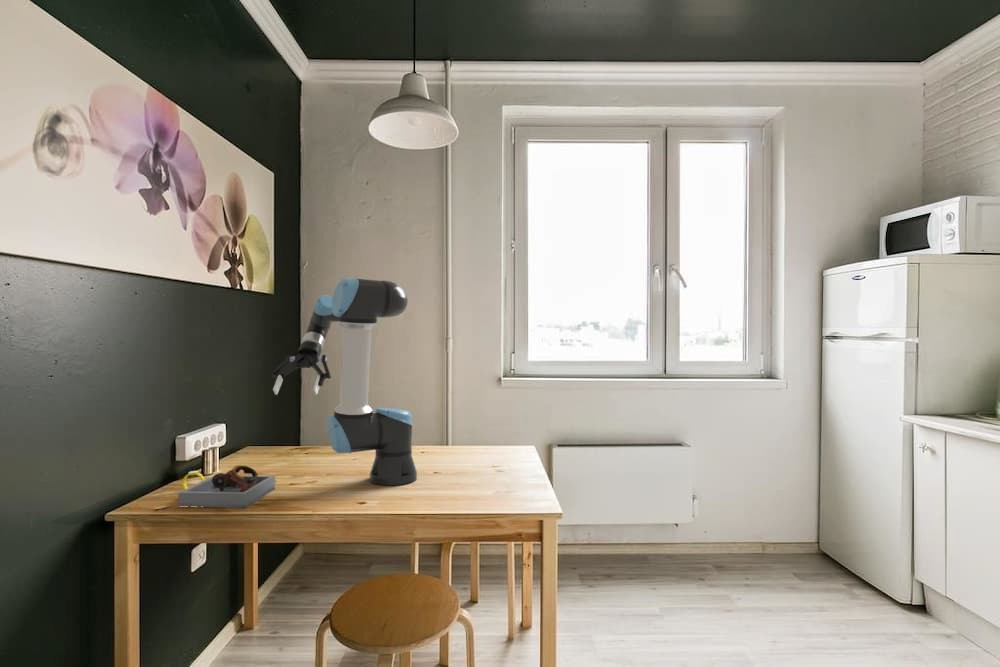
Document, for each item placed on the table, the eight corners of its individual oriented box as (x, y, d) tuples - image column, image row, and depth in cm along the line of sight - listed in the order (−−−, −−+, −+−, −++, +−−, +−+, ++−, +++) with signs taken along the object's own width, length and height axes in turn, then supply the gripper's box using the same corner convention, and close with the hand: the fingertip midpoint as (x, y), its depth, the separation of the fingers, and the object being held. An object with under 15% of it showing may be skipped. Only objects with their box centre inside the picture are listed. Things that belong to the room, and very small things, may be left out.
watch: (181, 493, 160) (180, 473, 160) (186, 491, 163) (185, 471, 163) (202, 492, 161) (200, 472, 161) (206, 489, 163) (205, 469, 163)
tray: (274, 489, 165) (274, 475, 165) (245, 508, 146) (245, 493, 146) (215, 488, 165) (215, 475, 165) (178, 507, 146) (178, 492, 146)
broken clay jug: (242, 485, 166) (255, 463, 165) (252, 506, 160) (264, 483, 159) (202, 483, 157) (215, 460, 156) (210, 504, 151) (223, 480, 150)
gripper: (347, 354, 200) (333, 399, 185) (280, 353, 201) (261, 398, 186) (343, 340, 195) (329, 385, 180) (274, 339, 195) (254, 384, 180)
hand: (294, 392), depth 183 cm, fingers open, 13 cm apart
